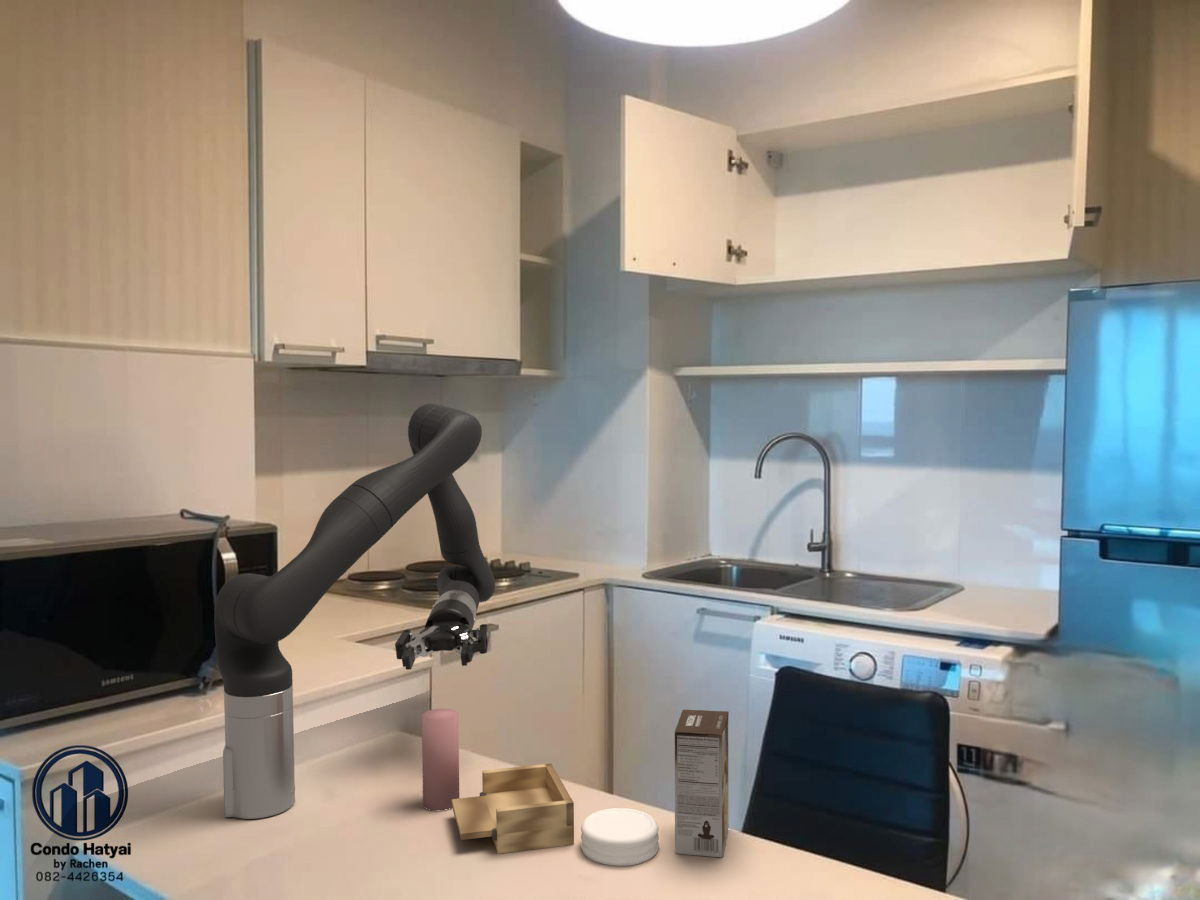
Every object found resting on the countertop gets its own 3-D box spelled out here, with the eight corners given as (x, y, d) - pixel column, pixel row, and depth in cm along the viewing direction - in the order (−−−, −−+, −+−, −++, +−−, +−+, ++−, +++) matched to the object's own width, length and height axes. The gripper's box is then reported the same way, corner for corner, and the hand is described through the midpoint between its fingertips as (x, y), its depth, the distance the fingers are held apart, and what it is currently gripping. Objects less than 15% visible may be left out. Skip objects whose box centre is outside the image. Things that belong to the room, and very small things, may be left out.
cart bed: (462, 858, 119) (461, 815, 119) (450, 812, 132) (450, 774, 132) (574, 844, 123) (573, 802, 122) (551, 800, 136) (551, 763, 136)
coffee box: (682, 823, 129) (682, 707, 128) (729, 827, 127) (729, 710, 127) (673, 854, 120) (673, 730, 119) (724, 859, 118) (724, 733, 118)
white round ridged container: (669, 840, 124) (669, 814, 124) (640, 874, 115) (640, 846, 115) (601, 826, 128) (601, 801, 128) (567, 858, 119) (567, 831, 119)
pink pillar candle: (424, 812, 132) (423, 721, 132) (421, 798, 137) (420, 710, 137) (461, 808, 134) (460, 718, 133) (457, 794, 139) (456, 707, 138)
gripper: (407, 601, 157) (385, 642, 142) (491, 595, 157) (479, 635, 141) (412, 642, 159) (391, 688, 143) (496, 637, 159) (484, 681, 143)
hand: (435, 662), depth 142 cm, fingers open, 8 cm apart
